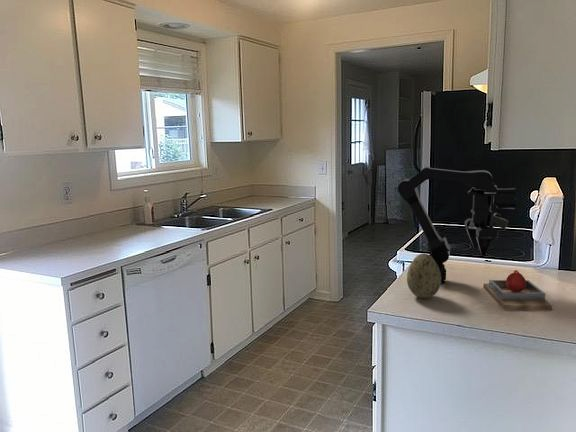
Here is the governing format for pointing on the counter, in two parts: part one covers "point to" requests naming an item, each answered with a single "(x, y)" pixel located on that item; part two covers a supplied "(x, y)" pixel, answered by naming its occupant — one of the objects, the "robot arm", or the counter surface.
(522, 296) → the square metal frame
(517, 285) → the onion
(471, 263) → the counter surface
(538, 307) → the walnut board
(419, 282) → the decorative egg
